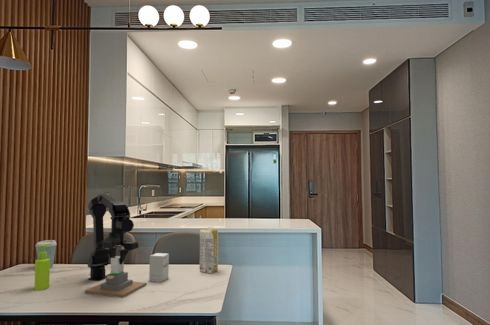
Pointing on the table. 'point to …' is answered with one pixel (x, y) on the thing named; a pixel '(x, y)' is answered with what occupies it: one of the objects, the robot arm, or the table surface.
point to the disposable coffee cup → (48, 250)
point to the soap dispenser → (42, 269)
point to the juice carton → (208, 250)
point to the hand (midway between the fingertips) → (117, 263)
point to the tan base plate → (116, 286)
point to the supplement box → (159, 267)
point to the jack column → (116, 266)
